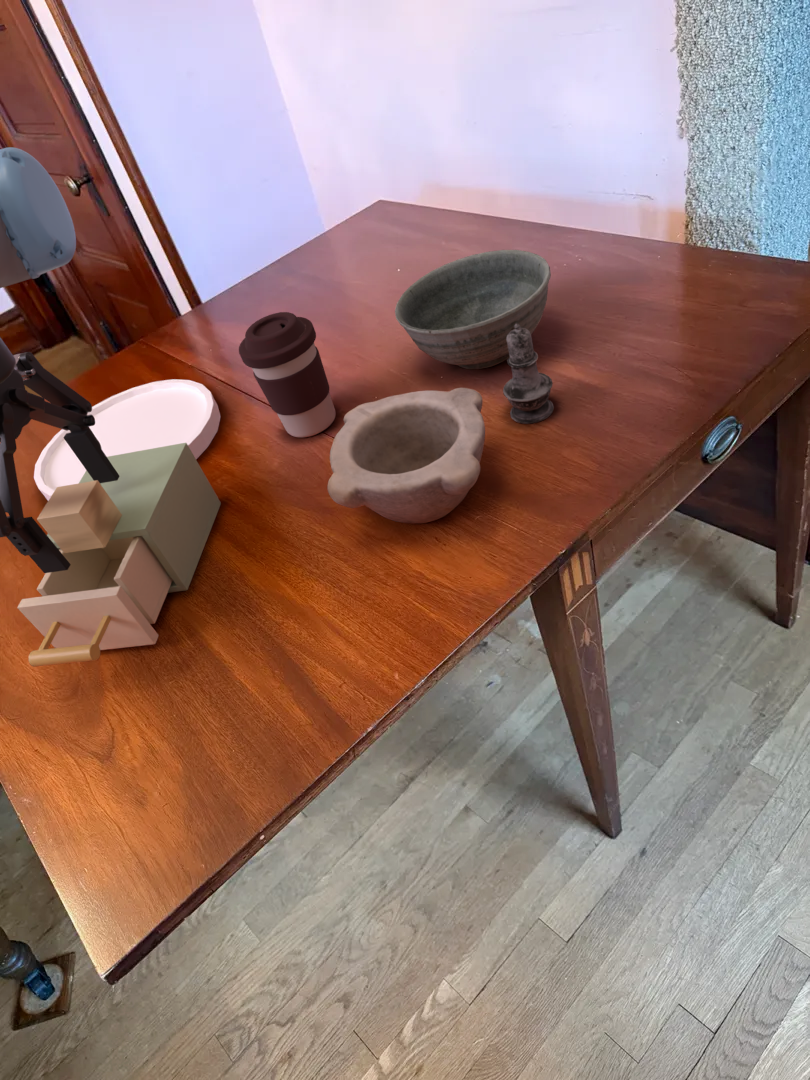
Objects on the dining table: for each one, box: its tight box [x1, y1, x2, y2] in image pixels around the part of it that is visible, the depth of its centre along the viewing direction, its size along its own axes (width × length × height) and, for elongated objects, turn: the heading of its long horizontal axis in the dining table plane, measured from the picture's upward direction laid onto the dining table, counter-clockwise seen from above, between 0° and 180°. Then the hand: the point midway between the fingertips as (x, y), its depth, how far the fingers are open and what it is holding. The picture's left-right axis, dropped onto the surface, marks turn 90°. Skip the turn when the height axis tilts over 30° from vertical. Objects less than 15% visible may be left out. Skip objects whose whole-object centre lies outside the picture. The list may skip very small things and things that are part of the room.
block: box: [36, 480, 122, 553], centre depth 78 cm, size 5×5×5 cm
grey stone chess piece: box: [502, 323, 555, 425], centre depth 87 cm, size 6×6×12 cm
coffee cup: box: [238, 311, 336, 438], centre depth 98 cm, size 10×10×15 cm
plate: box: [33, 378, 221, 502], centre depth 110 cm, size 28×28×2 cm
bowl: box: [394, 249, 552, 370], centre depth 101 cm, size 21×21×10 cm
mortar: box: [326, 387, 486, 524], centre depth 82 cm, size 17×17×9 cm
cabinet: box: [46, 443, 222, 594], centre depth 88 cm, size 15×13×10 cm
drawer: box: [17, 536, 173, 668], centre depth 80 cm, size 19×12×8 cm, turn 174°
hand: (84, 522), depth 78 cm, fingers open, 13 cm apart
